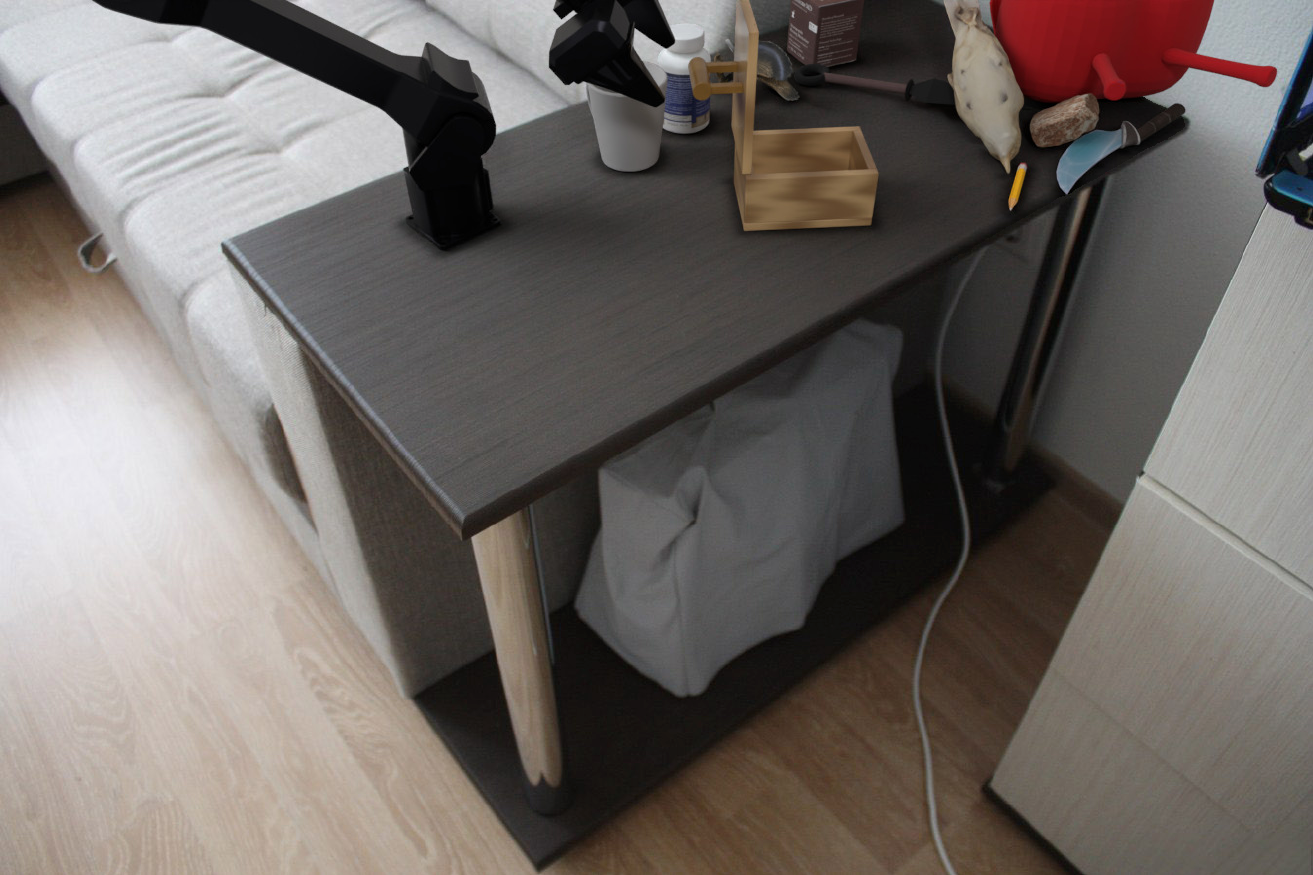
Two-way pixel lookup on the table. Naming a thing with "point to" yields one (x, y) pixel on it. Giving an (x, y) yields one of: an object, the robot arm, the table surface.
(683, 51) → the pill bottle
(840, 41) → the box
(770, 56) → the eagle figurine
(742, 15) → the lid
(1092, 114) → the stone
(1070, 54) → the novelty television
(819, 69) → the kunai knife
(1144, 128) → the knife
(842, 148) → the box
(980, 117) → the sculpture
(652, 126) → the cup
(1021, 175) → the pencil
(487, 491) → the table surface
